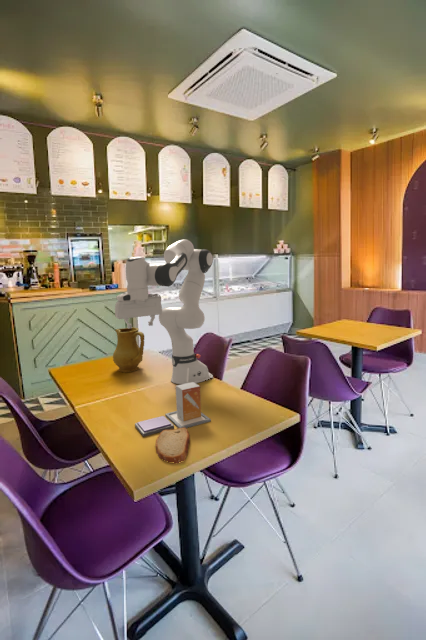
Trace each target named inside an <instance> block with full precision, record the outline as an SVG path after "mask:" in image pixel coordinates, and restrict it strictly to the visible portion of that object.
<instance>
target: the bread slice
mask: <svg viewBox="0 0 426 640" xmlns="http://www.w3.org/2000/svg"><path fill="white" fill-rule="evenodd" d="M189 446H190V434H189V431H188V428H184V427H183V428H178V427H177V428H174V429H170V430H163V431H162V432H159V434H158V435H157V438H156V440H155V446H154V447H155V449H156V454H158V455H157V457H159V459H160V460H162V459H163V460H162V461H164V460H165V461H164V462H166V461H168V462H167V463H169V462H174V463H173V464H176V463H177V464H180V463H179V462H181V461H184V460H185V461H186V459H187V457H188V453H189ZM185 461H184V462H185ZM181 463H182V462H181Z"/></svg>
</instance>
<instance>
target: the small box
mask: <svg viewBox="0 0 426 640" xmlns="http://www.w3.org/2000/svg"><path fill="white" fill-rule="evenodd" d="M175 399H176V400H175V403H176V411H177V416H178V417H179V418H180V419H181V420H182V421H187V420H190V419H194V418H198V417H201V412H202V403H201V386H200V385H199V384H198V383H194V382H191V383H186V384H177V385H175Z"/></svg>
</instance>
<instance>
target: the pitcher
mask: <svg viewBox="0 0 426 640" xmlns="http://www.w3.org/2000/svg"><path fill="white" fill-rule="evenodd" d="M114 330H115V331H114V332H116V336H117V337H116V339H117V344H116V347H115V350H114V351H113V354H112V361H113V362H114V364H115V366H117V367H118V372H120V373H130V372H131V373H133V372H135V371H138V370H139V369H140V367H139V365H140V363H142V361H143V355H144V349H145V348H144V347H145V334H144V332H143V331H139V328H137V327H133V326H132V328H130V329H128V327H124V328H117V329H114ZM137 336H139V338H140V339H139V341H140V344H138V342H137Z"/></svg>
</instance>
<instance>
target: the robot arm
mask: <svg viewBox="0 0 426 640" xmlns="http://www.w3.org/2000/svg"><path fill="white" fill-rule="evenodd" d="M163 258H164V261H165V262H164V263H150V262H148V261H146V259H145V257H144V256H140V255H139V256H132V257H129V258H128V259H126V261H125V280H126V282H127V287H126V291H125V292H123V293H120V294H118V295H117V296H116V300H117V301H116V302H115V305H114V315H115V318H116V319H118V320H124V322H125V324H126V325H127V326H126V328H128V329H130V328H132V327H133V325H132V323H129V321H130V319H133V318H141V317H149V316H150V320H149V321H147V322H148V326H149V327H153V326H154V321H155V319H156V315H157V316H158V322H159V323H160V325H161V326H163V328H164V329H165V330H166V331H167V333H168V335H169V337H170V340H171V341H170V342H171V348H172V349H171V351H172V354H171V364H172V374H171V379H170V382H172V383H173V384H177V385H182V384H186V383H191V382H194V383H196V384H198V383H199V384H200V383H203V382H205V380H206V381H209V380H211V379H210V378H212V379H213V378H214V375H213V374H212V373H210V372H209V369H208V365H206V364H204V363H203V362H201V360H198V359H200V358H201V354H199V353H195V352H194V339H193V337H192V336H190V335H189V334H188V333H187V332H186V330H187V329H188V330H195V329H199V328H201V327H202V326H203V325H204V323H205V319H206V318H205V314H204V311H203V310H202V309H201V308H200V305H199V304H200V298H201V295H202V292H203V289H204V285H205V282H206V281H205V280H206V275H205V274H206V273H207V272H208V271H209V269H211V267H212V265H213V263H214V257H213V253H212V251H210V250H208V249H205V248H203V249H200V248H195V247H194V244H193V243H192V241H191V240H189V239H186V238H185V239H180V240H177V241H175V242H173V243H172V244H170V245H169V246H168V247H167V248H165V250H164V252H163ZM182 271H187V275H186V276H185V278H184V279H183V283H182V285H181V288H180V290H179V294H178V298H179V301H180V302H181V303H182V304H183V305H182V306H181V307H180V306H169V307H164V308H163V307H162V296H161V295H160V294H158V293H149V287H172V286H173V285H174V283H175V282H176V280H177V278H178V276H179V274H181V272H182ZM148 286H149V287H148ZM208 379H209V380H208Z"/></svg>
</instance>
